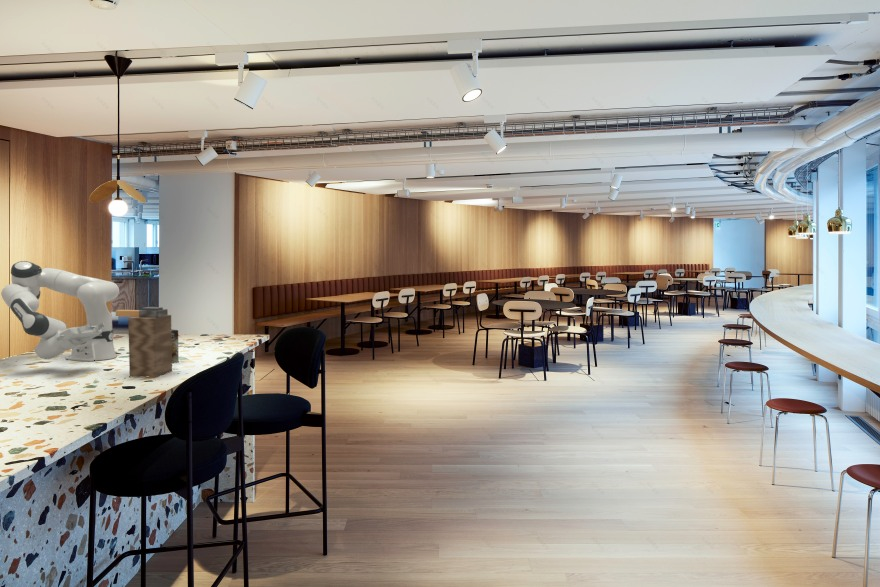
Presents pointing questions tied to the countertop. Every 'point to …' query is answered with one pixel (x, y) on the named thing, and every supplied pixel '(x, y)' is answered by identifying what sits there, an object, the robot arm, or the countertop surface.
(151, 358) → the stand
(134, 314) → the handled tool
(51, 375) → the countertop surface
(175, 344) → the coffee box
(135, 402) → the countertop surface
